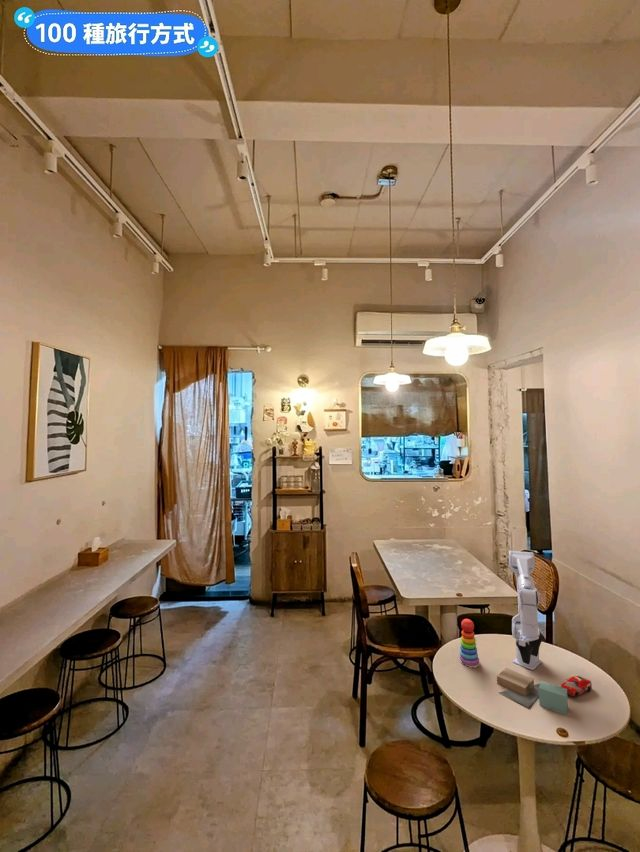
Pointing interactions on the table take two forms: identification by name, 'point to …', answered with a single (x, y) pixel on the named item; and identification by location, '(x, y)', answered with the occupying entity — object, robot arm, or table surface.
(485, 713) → the table surface
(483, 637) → the table surface
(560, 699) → the teal brick
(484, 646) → the table surface
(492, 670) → the table surface
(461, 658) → the stacking toy
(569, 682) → the race car
